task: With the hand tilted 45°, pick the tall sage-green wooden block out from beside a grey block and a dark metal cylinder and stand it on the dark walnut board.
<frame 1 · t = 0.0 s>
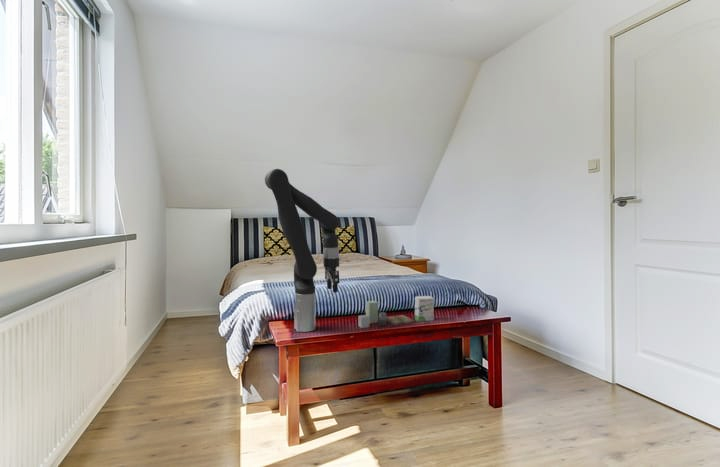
hand: (332, 290, 187), 17 cm above the table, tool pointing down, fingers open, 8 cm apart
sage block: (371, 321, 196), on the table
ink box: (424, 320, 199), on the table
grey block: (363, 326, 187), on the table
metal cylinder: (382, 325, 189), on the table
walnut board: (398, 320, 197), on the table
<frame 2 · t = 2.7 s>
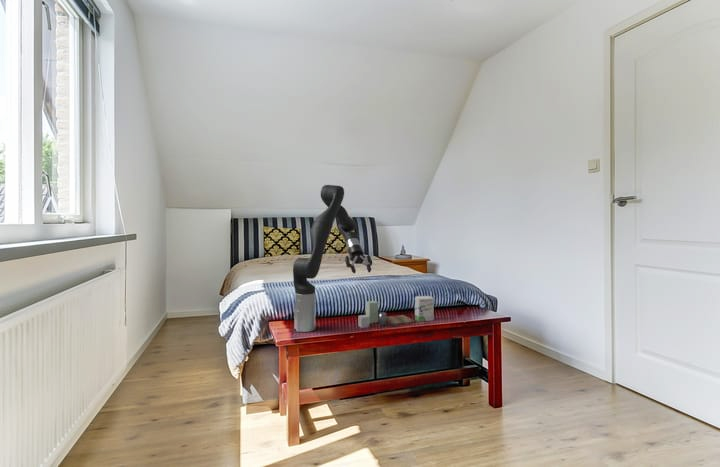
hand: (362, 272, 206), 23 cm above the table, tool tilted 45°, fingers open, 8 cm apart
nothing on the table moved.
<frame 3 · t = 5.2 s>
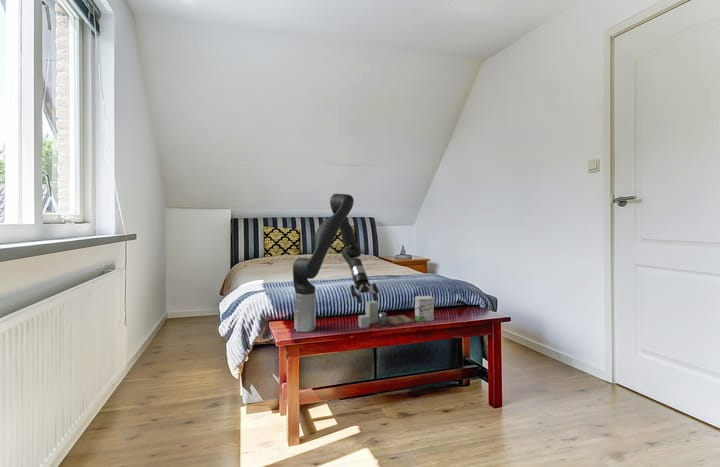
hand: (368, 301, 200), 9 cm above the table, tool tilted 45°, fingers open, 8 cm apart
nothing on the table moved.
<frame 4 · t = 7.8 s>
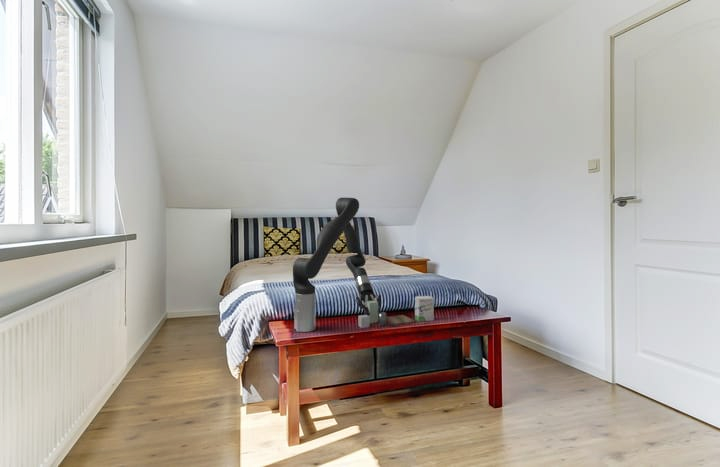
hand: (373, 314, 194), 4 cm above the table, tool tilted 45°, fingers closed on sage block, 4 cm apart
sage block: (371, 321, 196), on the table, touching gripper
everything else where it was.
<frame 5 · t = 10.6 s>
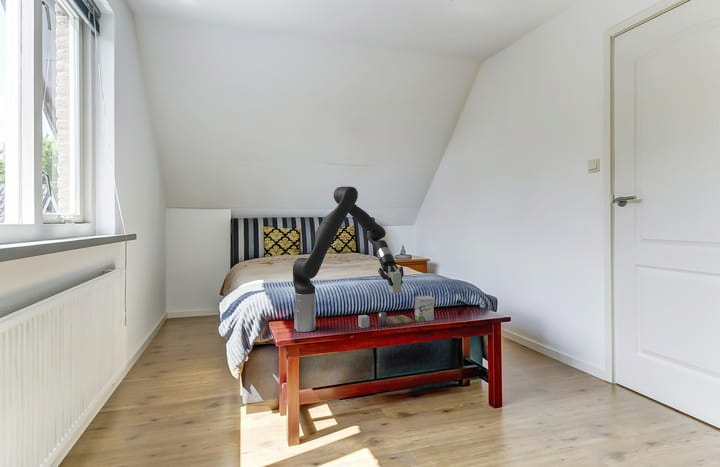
hand: (396, 284, 195), 19 cm above the table, tool tilted 45°, fingers closed on sage block, 4 cm apart
sage block: (394, 292, 197), point 14 cm above the table, touching gripper
everything else where it was.
when the fingers open (7 cm above the table, at t = 13.8 s): sage block drops 1 cm, resting on walnut board.
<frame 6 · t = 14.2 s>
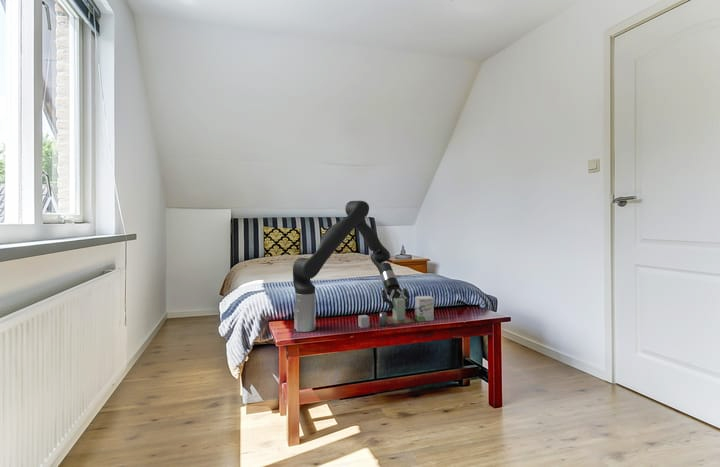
hand: (400, 307, 195), 7 cm above the table, tool tilted 45°, fingers open, 8 cm apart
sage block: (398, 319, 197), point 1 cm above the table, touching walnut board
everything else where it was.
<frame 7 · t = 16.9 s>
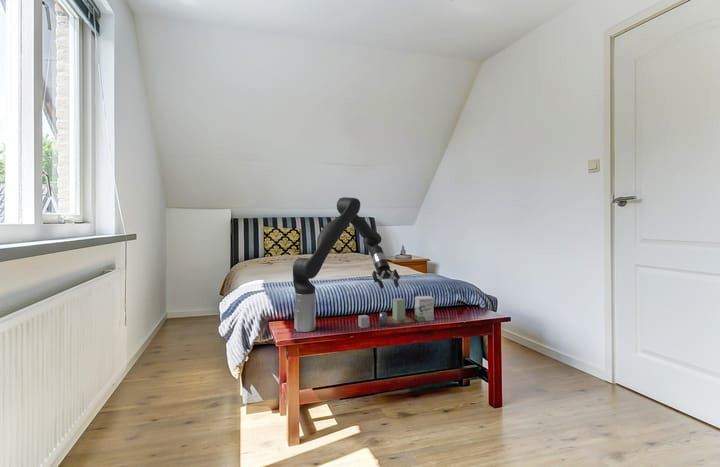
hand: (390, 287, 205), 15 cm above the table, tool tilted 45°, fingers open, 8 cm apart
nothing on the table moved.
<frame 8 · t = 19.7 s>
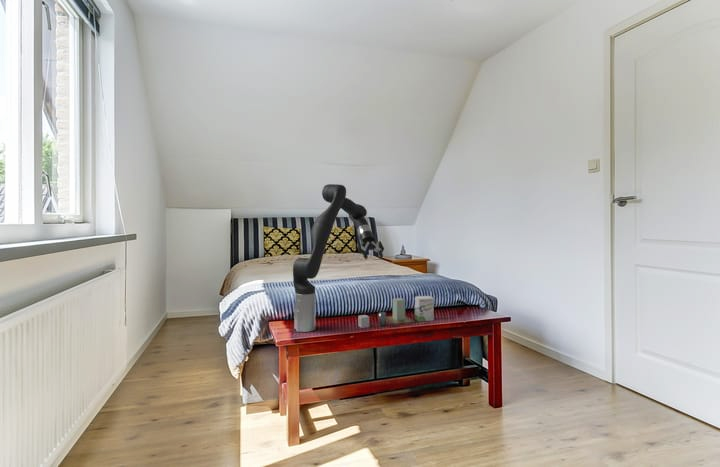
hand: (374, 257, 206), 31 cm above the table, tool tilted 45°, fingers open, 8 cm apart
nothing on the table moved.
at the end: sage block inside the target area on the walnut board (0.1 cm from its centre), point 1.0 cm above the walnut board's base; sage block tilted 0°; the gripper is holding nothing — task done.
